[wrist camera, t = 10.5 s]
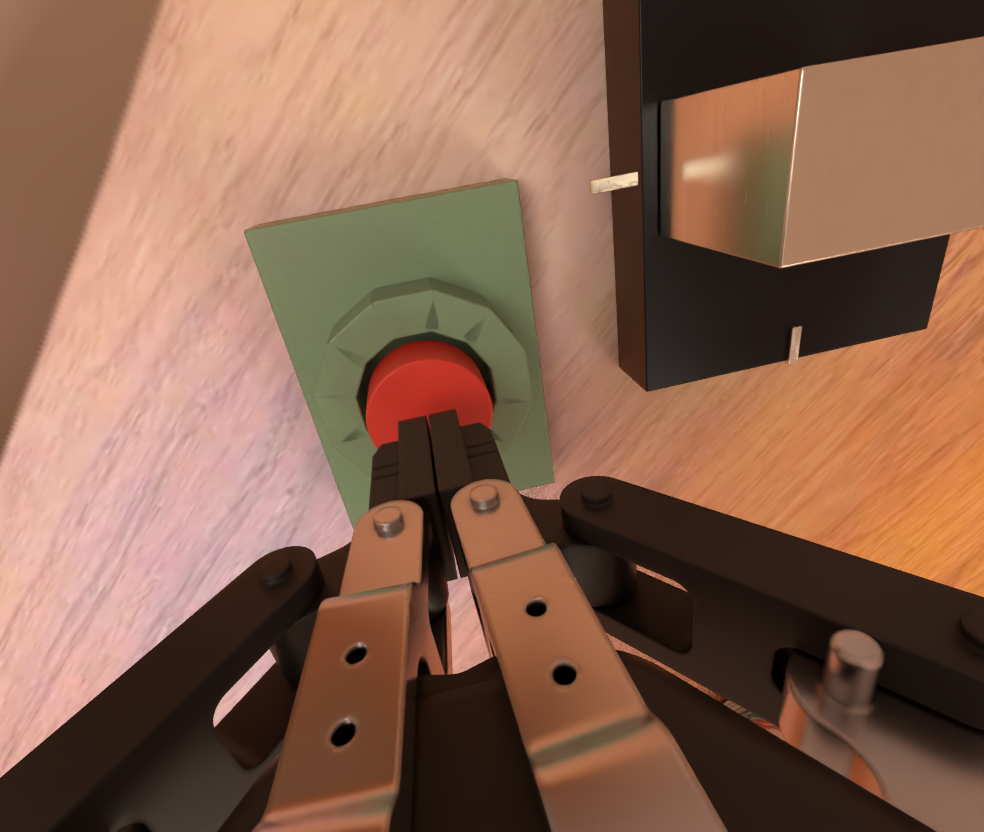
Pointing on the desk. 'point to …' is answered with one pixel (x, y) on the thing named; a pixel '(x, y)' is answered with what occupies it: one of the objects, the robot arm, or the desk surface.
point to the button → (424, 388)
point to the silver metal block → (829, 157)
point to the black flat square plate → (725, 278)
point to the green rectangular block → (408, 314)
